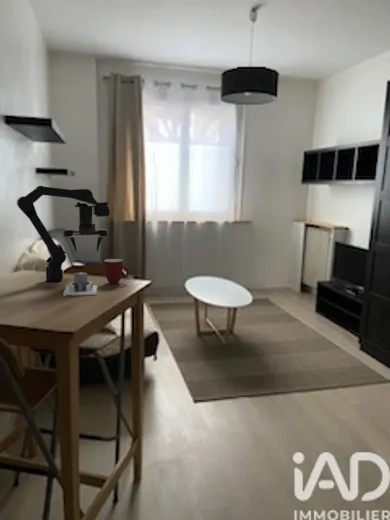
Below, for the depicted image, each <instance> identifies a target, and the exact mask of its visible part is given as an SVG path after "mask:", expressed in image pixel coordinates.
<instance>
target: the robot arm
mask: <svg viewBox="0 0 390 520" xmlns="http://www.w3.org/2000/svg"><path fill="white" fill-rule="evenodd" d="M43 196H47V197H48V196H50V197H59V198H67V199H68V198H69V199H72V200H75V201H77V202H76V203H75V204H73V207H74V208H78V221H79V222H78V224H79V225H78V230H75V229H74V228H73V229H72V228H71V229H68V228H65V230H64V231H63V237H67V240H68V239H69V240H70V241H71V243H72V245H73V248H74V252H75V253H77V252H78V248H77V247H78V246H77V240H76V239H77V238H76V236H97V244H96V252H97V253H98V252H99V247H100V244H101V242H102V240H103V239H105V237H108V235H109V234H108V229H106V228H100V229H98V230H96V223H93V216H95V218H109V217H110V213H111V212H110V207H109V202H108V201H103V202H98V201H97V199H95V197H94V194H93V192H92V191H91V190H90V189H88V188H79V189H78V188H77V189H67V188H60V187H58V188H57V187H50V186H44V185H38V186H36V187H35V188H34V189H33V190H32V191H30V192H29V193H28V194H26V195H24V196H22V195H21V196H20V197H18V199H17V200H16V205H17V207H18V209H19V210H21V212H22V213H23V215H25V216H26V217H27V218H28V220H29V221H30V222H31V225H32V226H33V227H34V229H35V231H36V232H37V235H39V237H40V238H41V240H42V241H43V243H44V245H45V246H46V248H47V249H46V250H47V252H48V255H49V257H48V258H47V259H46V260H45V264H46V266H45V277H46V279H45V283H46V282H47V283H48V282H49V283H51V282H54V283H56V282H62V281H63V280H64V269H63V268H62V267H63V266H62V265H63V263H65V261H66V259H67V255H66V254H67V252H66V251H65V250H64V248H63V246H62V245H61V244H60V243H57V244H56V242H55V241H54V239H53V238H52V236H51V235H50V233H49V231H48V230H47V228H46V226H45V225H44V223H43V221H42V220H41V219H40V217H39V215H38V213H37V209H36V207H35V205H34V203H35V202H37V201H38V200H39V199H40V198H41V197H43ZM81 202H83V203H81ZM88 204H89V205H88Z"/></svg>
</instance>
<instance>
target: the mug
mask: <svg viewBox="0 0 390 520" xmlns="http://www.w3.org/2000/svg"><path fill="white" fill-rule="evenodd" d="M124 269H125V270H126V274H125V275H123V270H124ZM103 270H104V274H105V278H106V280H107V282H108V284H110V283H111V284H110V285H117V283H118V284H119V283H120V281H121V279H122V278H123V279H124V278H126V277H128V276H129V274H130V270H129V268H128V266H126V265H124V259H120V258H107V259H104V260H103Z"/></svg>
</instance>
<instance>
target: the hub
mask: <svg viewBox="0 0 390 520" xmlns="http://www.w3.org/2000/svg"><path fill="white" fill-rule="evenodd" d="M97 292H98V284H93V282H92V281H89V280H87V285H85V290H82V291H78V290H76V285H74V281H72V282H69V283H68V285H66V287H65V289H64V290H63V296H64V297H67V296H66V295H70V296H71V295H72V296H95V295H97Z"/></svg>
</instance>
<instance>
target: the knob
mask: <svg viewBox="0 0 390 520" xmlns="http://www.w3.org/2000/svg"><path fill="white" fill-rule="evenodd" d="M87 281H88V273H87V272H83V271H81V272H80V271H79V272H74V273H73V282H74V285H76V290H78V291H82V290H85V285H87Z"/></svg>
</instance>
